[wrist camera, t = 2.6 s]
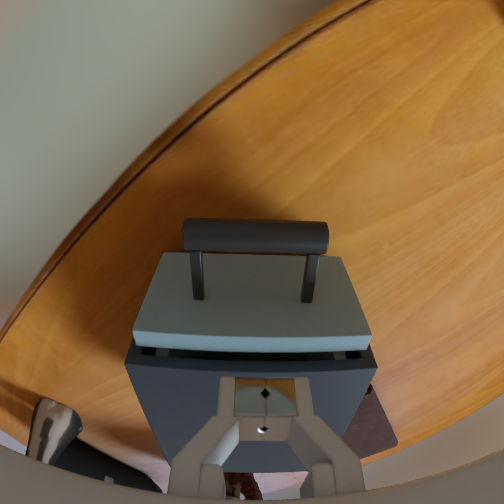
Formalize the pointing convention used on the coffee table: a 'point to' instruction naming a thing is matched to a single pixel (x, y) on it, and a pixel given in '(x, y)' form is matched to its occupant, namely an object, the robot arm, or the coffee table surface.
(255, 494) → the mug
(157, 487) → the portable speaker
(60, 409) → the figurine
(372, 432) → the brown leather sleeve case
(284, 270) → the drawer
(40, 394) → the coffee table surface
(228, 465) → the cabinet
